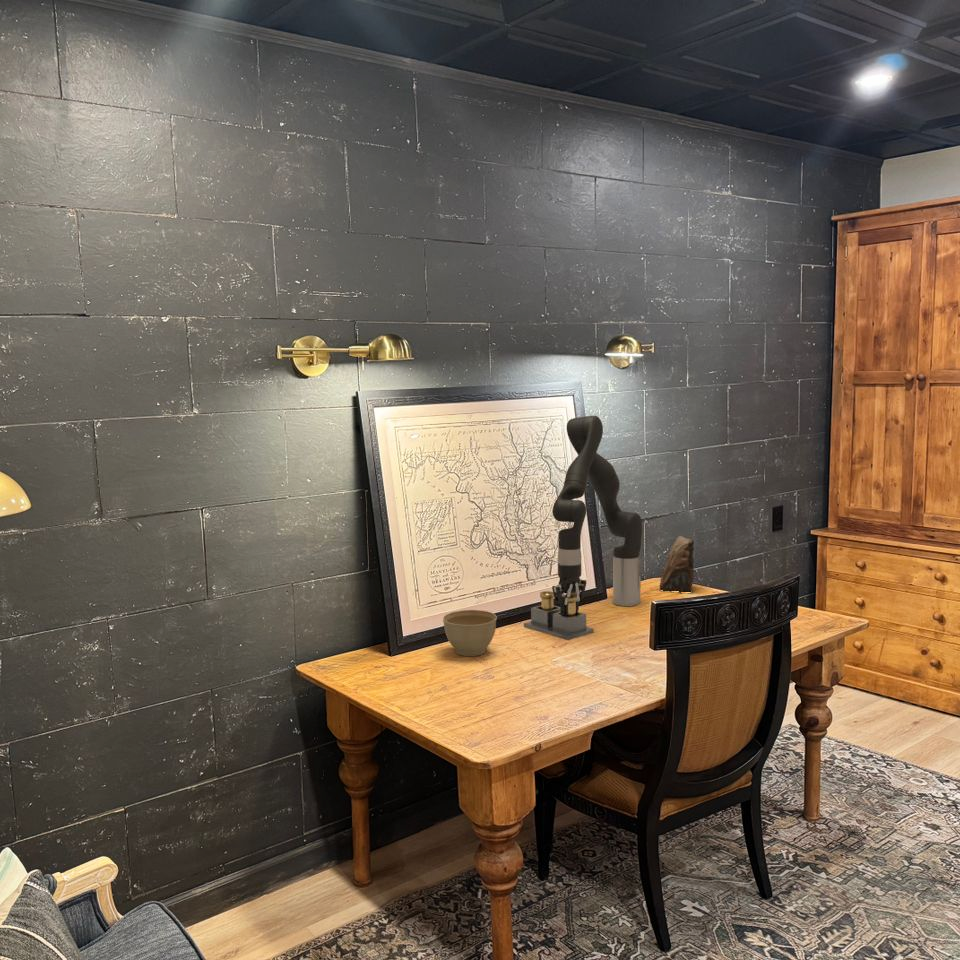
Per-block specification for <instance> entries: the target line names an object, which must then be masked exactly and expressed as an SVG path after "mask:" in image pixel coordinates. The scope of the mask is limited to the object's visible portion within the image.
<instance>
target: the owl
mask: <svg viewBox="0 0 960 960" xmlns="http://www.w3.org/2000/svg"><path fill="white" fill-rule="evenodd" d="M694 544H695V540H694V539H693V538H686V537H684V536H682V535H681V534H680V535H678V537H677V538H676V540H675V542H674V544H673V545H672V546H671V548H670V550H669V551H668V555H667V558H666V561H665V564H664V567H663V570H662V573H661V577H660V583H659V590H663V591H662V592H665V591H679V592H691V591H692V587H693V582H694V557H693V556H694V555H693V553H694V549H695V548H694Z"/></svg>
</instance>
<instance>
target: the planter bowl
mask: <svg viewBox="0 0 960 960" xmlns="http://www.w3.org/2000/svg"><path fill="white" fill-rule="evenodd" d="M497 618H498V617H497V615H496V614H495V613H493V612H491V611H487V610H481V609H463V610H462V609H461V610H457V611H451V612H449V613H446V614H445V615H443V617H442V620H443V621H442V622H443V627H444V633H445V635H446V637H447V640H448V641H449V643H450V645H451V647H453V649H454V653H455V654H457V655H459V656H465V657H476V656H480V655H481V656H482V655H484V654H485V653H486V652H487V651H488V646H490V644H491V643H492V640H493V638H494V636H495V634H496V633H495V632H496V627H497V620H498V619H497Z"/></svg>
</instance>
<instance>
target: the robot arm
mask: <svg viewBox="0 0 960 960" xmlns="http://www.w3.org/2000/svg"><path fill="white" fill-rule="evenodd" d="M566 433H567V436H568V440H569V441H570V443H571V445H572V447H573V449H574V450H575V452H576V454H577V455H576V457H575V459H573V461H572V462H571V463H570V465H569V466H568V469H567V470H566V474H565V476H564V477H565V478H564V480H563V481H564V482H563V486H562V489H561V490H560V492H559V495H558V496H557V498H556V499H555V501H554V503H553V506H552V517H553V519H555V521H557V522H560V523H561V522H562V523H573V525H572V526H571V527H568V528H563V529H560V530H559V531H558V548H557V549H558V551H557V576H558V577H559V582H558V584H556V585H553V586H552V587H551V588H552V592H553V594H554V598H553V599H554V602H555V603H557V604H559V605H560V606H559V607H560V613H561V615H563V616H567V615H568V612H567V602H568V598H569V597H570V595H574V596H577V601H576V613H578V612H579V611H580V610H579V606H580V603H579V602H580V600H581V599H584V597H585V591H586V586H587V580H586V579H581V576H582V549H581V547H582V546H581V542H582V540H581V539H582V537H581V536H582V530H583V526H584V523H585V519H586V515H587V506H586V503H585V502H584V501H583V500H581V499H580V498H582V497H583V496H584V494H585V492H586V486H587V481H588V479H589V481H590V483H591V486H592V488H593V490H594V491H595V494H596V496H597V499H598V501H599V504H600V506H601V509H602V512H603V515H604V518H605V521H606V524H607V525H606V526H608V527H607V528H608V529H609V532H610V533H611V534H612V535H613V536H615V537H618V538H619V537H620V538H624V542H623V543H624V544H622V545H619V546H615V547H614V548H613V550H612V551H613V552H612V555H613V556H612V557H613V558H612V562H613V563H612V565H613V566H612V571H613V572H612V573H613V574H612V588H613V589H612V604H614V605H615V606H620V607H622V606H623V607H633V606H637V605H639V604H640V603H641V598H642V597H641V588H642V587H641V586H642V584H641V582H642V579H641V576H640V551H641V548H642V536H643V535H642V534H643V520H642V516H641V515H640V514H639V513H636V512H631V511H623V510H622V509H621V508H620V506H619V504H618V500H617V498H618V494H619V492H620V486H621V485H620V482H621V481H620V479H619V477H618V474H617V471H616V470H615V467H614V466H613V465H612V464H611V463H610V461H608V460H607V459H606V458H604V457H603V456H602V455H600V454H599V453H598V449H599V446H600V444H601V442H602V437H603V433H604V425H603V422H602V420H601V419H600V417H599V416H597V415H586V416H580V417H573V418H570V419H569V420H568V421H567V423H566ZM579 499H580V500H579ZM563 597H565V598H564V600H563Z"/></svg>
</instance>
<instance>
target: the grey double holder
mask: <svg viewBox="0 0 960 960" xmlns="http://www.w3.org/2000/svg"><path fill="white" fill-rule="evenodd" d="M539 597H540V598H541V599H540V602H541V604H540V605H536V606H533V607H530V621H526V622H524V623H523V627H524V628H527V629H530V630H533V631H537V632H540V633H544V634H548V635H550V636H553V637H557V638H561V639H564V640H566V641H567V640H568V641H569V640H572V639H576V638H579V637H582V636H586V635H590V634H593V633H594V631H595V629H594V628H593V627H589V626H587V613H583V612H580V611H578V613H576V616H573V617H567V616H563V615H561V613H560V606H558V605H554V602H555V598H554V594H553V591H548V590H547V591H541V592H539Z"/></svg>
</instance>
